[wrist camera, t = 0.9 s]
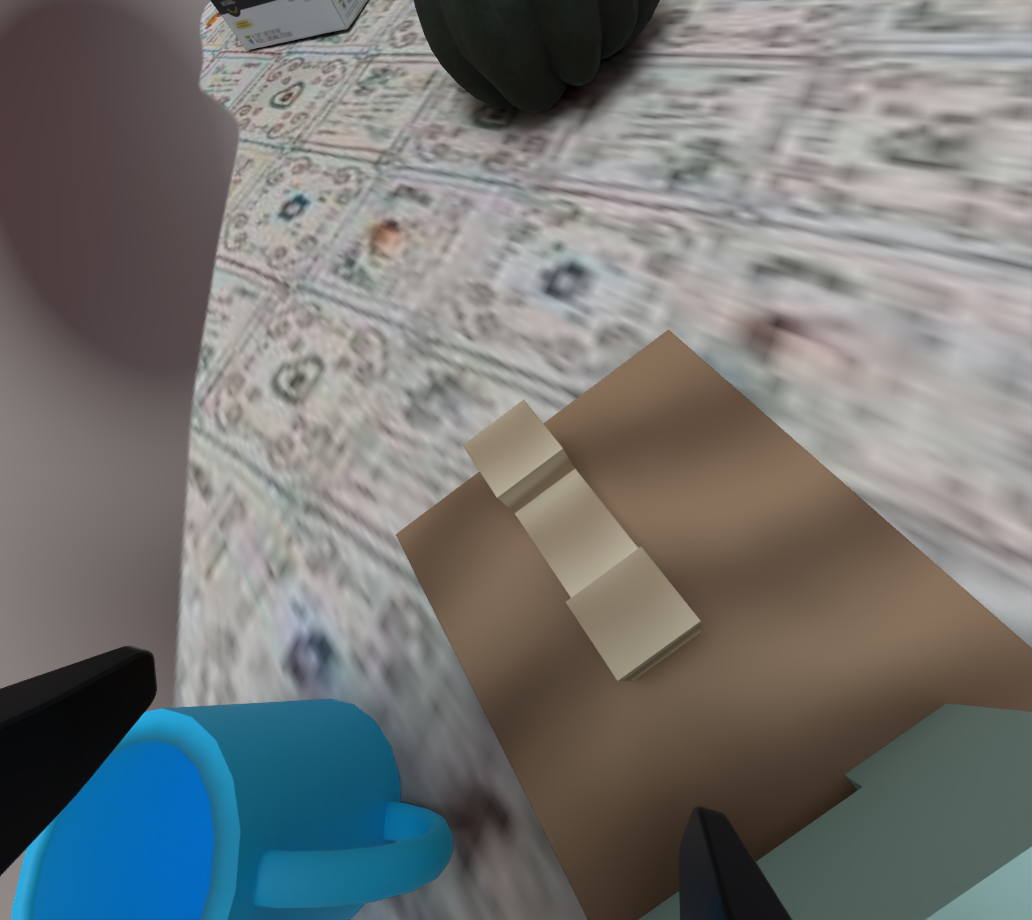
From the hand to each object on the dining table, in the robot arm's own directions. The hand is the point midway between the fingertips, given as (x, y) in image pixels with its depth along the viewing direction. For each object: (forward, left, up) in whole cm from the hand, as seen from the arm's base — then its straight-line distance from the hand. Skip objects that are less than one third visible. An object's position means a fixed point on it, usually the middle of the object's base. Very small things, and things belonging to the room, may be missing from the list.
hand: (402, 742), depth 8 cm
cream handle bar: (+5, -4, -12) cm, 14 cm away
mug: (+2, +10, -13) cm, 17 cm away
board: (+1, -5, -13) cm, 14 cm away
